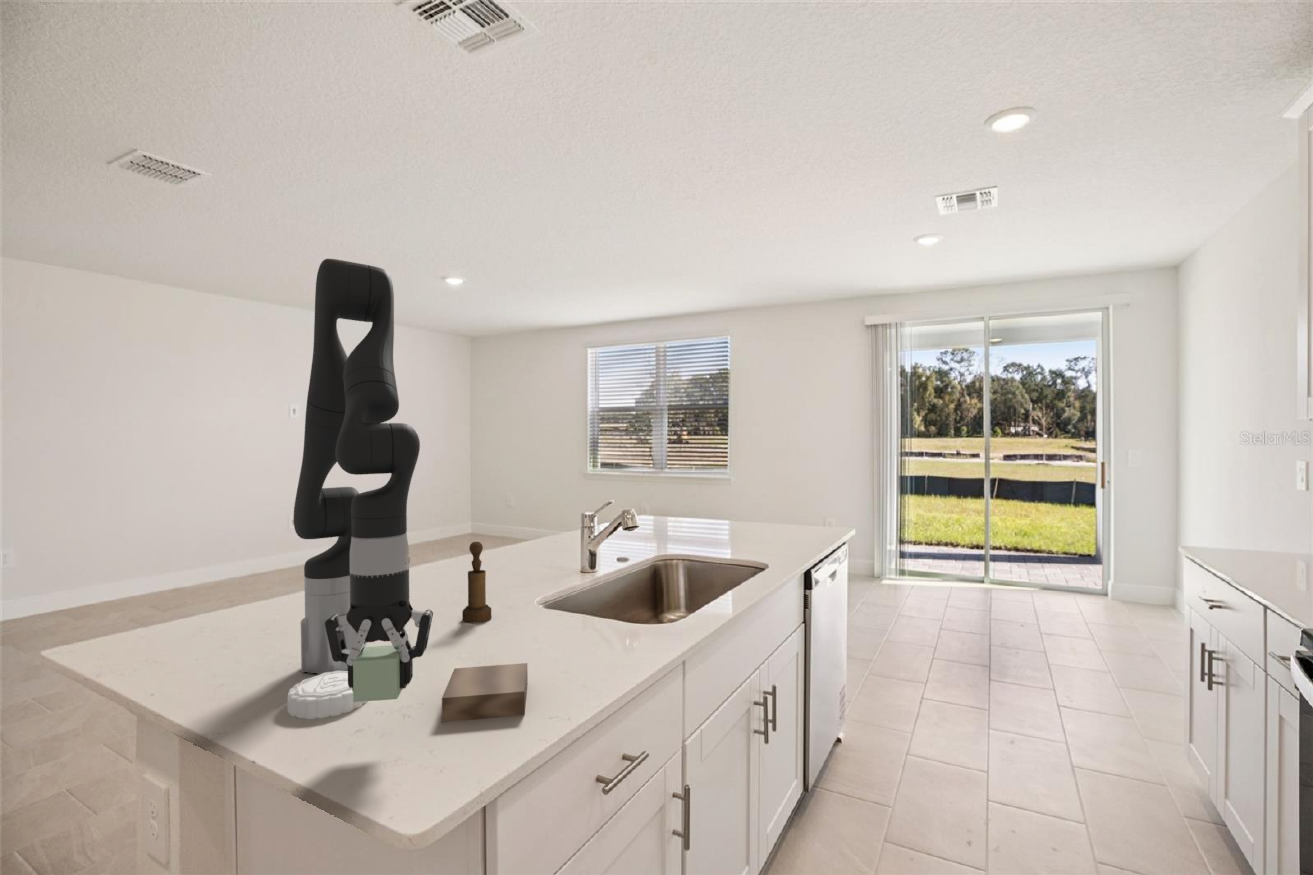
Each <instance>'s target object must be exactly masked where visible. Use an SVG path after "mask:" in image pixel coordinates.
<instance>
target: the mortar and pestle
mask: <svg viewBox="0 0 1313 875" xmlns="http://www.w3.org/2000/svg"><path fill="white" fill-rule="evenodd" d="M483 547H484V546H483V544H482V543H481V542H480V541H473V542H471V543H470V544H469V552H470V554H471V555H472V561H471V566H472V569H473V570H472V569H471V570H469V571H467V598H468V599H467V605H466V606H465V607H464V609H463V610H462V613H461V614H462V616H461V617H462V618H461V619H462V622H465V623H469V624H473V623H474V624H476V623H477V624H478V623H479V624H480V623H483V622H487V621H488V622H489V621H490V620H492V617H493V616H492V607H491V606H489V605H488V604H487V602H486V600H487V598H486V593H487V592H486V591H487V590H486V577H487V576H486V574H487V573H486V570H484V569H481V567H482V562H483V561H482V560H481V559H480V557H481V554H482V553H483V550H484V548H483Z"/></svg>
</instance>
